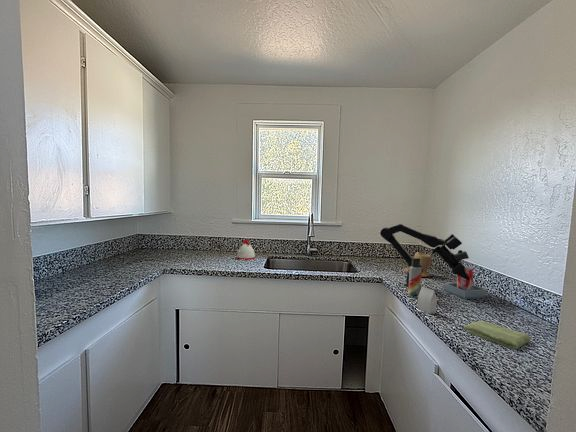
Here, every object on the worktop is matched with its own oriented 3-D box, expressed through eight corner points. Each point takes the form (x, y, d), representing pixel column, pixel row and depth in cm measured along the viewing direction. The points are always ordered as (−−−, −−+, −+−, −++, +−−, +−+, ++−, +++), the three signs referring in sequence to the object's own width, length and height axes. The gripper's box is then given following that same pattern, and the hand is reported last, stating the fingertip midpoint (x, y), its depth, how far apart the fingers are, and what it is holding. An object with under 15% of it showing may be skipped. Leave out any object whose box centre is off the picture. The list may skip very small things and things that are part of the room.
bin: (464, 299, 148) (465, 291, 148) (443, 290, 162) (443, 283, 161) (486, 297, 152) (487, 289, 152) (463, 288, 165) (464, 282, 165)
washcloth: (478, 324, 120) (478, 316, 119) (531, 343, 105) (532, 334, 105) (461, 331, 113) (462, 323, 112) (516, 353, 98) (517, 343, 97)
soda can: (454, 289, 157) (456, 267, 156) (459, 286, 162) (460, 265, 161) (469, 292, 152) (471, 270, 151) (473, 290, 156) (475, 268, 156)
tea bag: (430, 313, 128) (431, 291, 128) (417, 308, 134) (418, 286, 134) (435, 312, 130) (437, 290, 129) (423, 307, 136) (424, 286, 135)
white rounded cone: (248, 255, 240) (249, 237, 239) (258, 258, 230) (258, 240, 229) (233, 257, 232) (234, 239, 231) (243, 261, 221) (243, 241, 220)
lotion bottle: (413, 298, 147) (415, 259, 146) (405, 294, 153) (407, 257, 151) (422, 297, 149) (424, 258, 148) (414, 294, 154) (417, 256, 153)
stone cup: (434, 277, 189) (436, 254, 188) (420, 278, 185) (421, 255, 184) (416, 271, 203) (418, 250, 202) (403, 272, 199) (404, 250, 198)
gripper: (461, 248, 148) (485, 273, 144) (456, 243, 165) (478, 265, 162) (442, 261, 152) (465, 286, 148) (440, 255, 169) (460, 277, 165)
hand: (468, 278), depth 156 cm, fingers closed on soda can, 7 cm apart
